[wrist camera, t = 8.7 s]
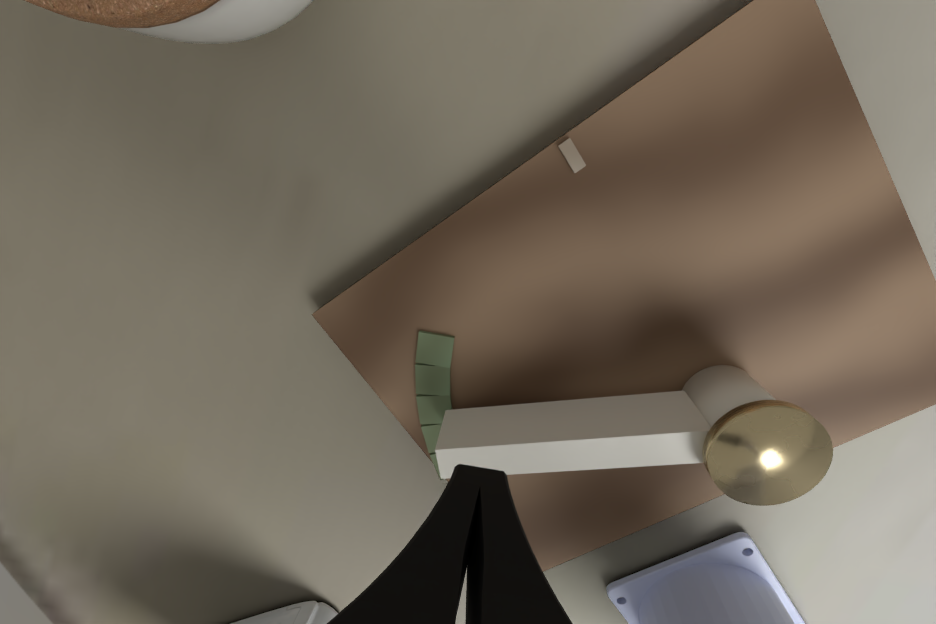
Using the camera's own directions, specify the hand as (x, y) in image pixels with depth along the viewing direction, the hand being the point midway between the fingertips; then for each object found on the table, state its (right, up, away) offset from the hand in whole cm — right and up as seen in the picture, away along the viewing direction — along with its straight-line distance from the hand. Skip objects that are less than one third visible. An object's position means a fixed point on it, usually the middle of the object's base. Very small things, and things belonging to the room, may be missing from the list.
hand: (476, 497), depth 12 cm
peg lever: (+6, +1, +8) cm, 10 cm away
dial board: (+7, +4, +8) cm, 11 cm away
